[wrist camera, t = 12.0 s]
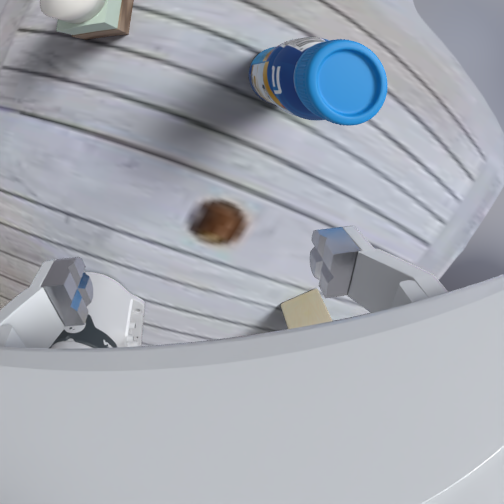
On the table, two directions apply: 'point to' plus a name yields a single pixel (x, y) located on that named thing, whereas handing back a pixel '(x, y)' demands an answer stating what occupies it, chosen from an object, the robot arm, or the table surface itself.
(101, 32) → the tower base
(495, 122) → the table surface
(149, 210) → the table surface
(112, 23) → the tower top
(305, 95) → the beverage bottle
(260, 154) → the table surface
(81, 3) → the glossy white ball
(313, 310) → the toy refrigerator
